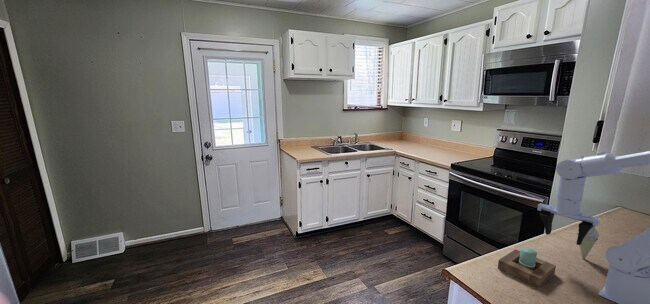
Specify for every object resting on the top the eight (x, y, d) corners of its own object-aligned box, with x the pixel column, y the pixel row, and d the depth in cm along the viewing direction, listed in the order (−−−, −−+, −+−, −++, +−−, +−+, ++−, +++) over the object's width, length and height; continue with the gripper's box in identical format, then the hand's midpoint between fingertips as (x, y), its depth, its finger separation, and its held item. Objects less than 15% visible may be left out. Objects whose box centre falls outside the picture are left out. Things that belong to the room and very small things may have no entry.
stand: (554, 274, 82) (555, 265, 82) (538, 287, 77) (540, 278, 76) (514, 257, 91) (515, 249, 91) (497, 268, 86) (498, 259, 85)
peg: (536, 272, 83) (539, 251, 82) (530, 277, 81) (533, 256, 80) (521, 265, 87) (524, 245, 85) (515, 270, 85) (518, 250, 83)
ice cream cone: (598, 264, 87) (606, 220, 84) (579, 262, 88) (587, 219, 85) (586, 255, 92) (593, 214, 89) (569, 254, 93) (576, 213, 90)
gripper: (606, 201, 78) (598, 244, 81) (546, 189, 90) (540, 226, 93) (598, 207, 75) (591, 252, 77) (536, 193, 87) (531, 232, 89)
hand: (563, 238), depth 85 cm, fingers open, 7 cm apart
